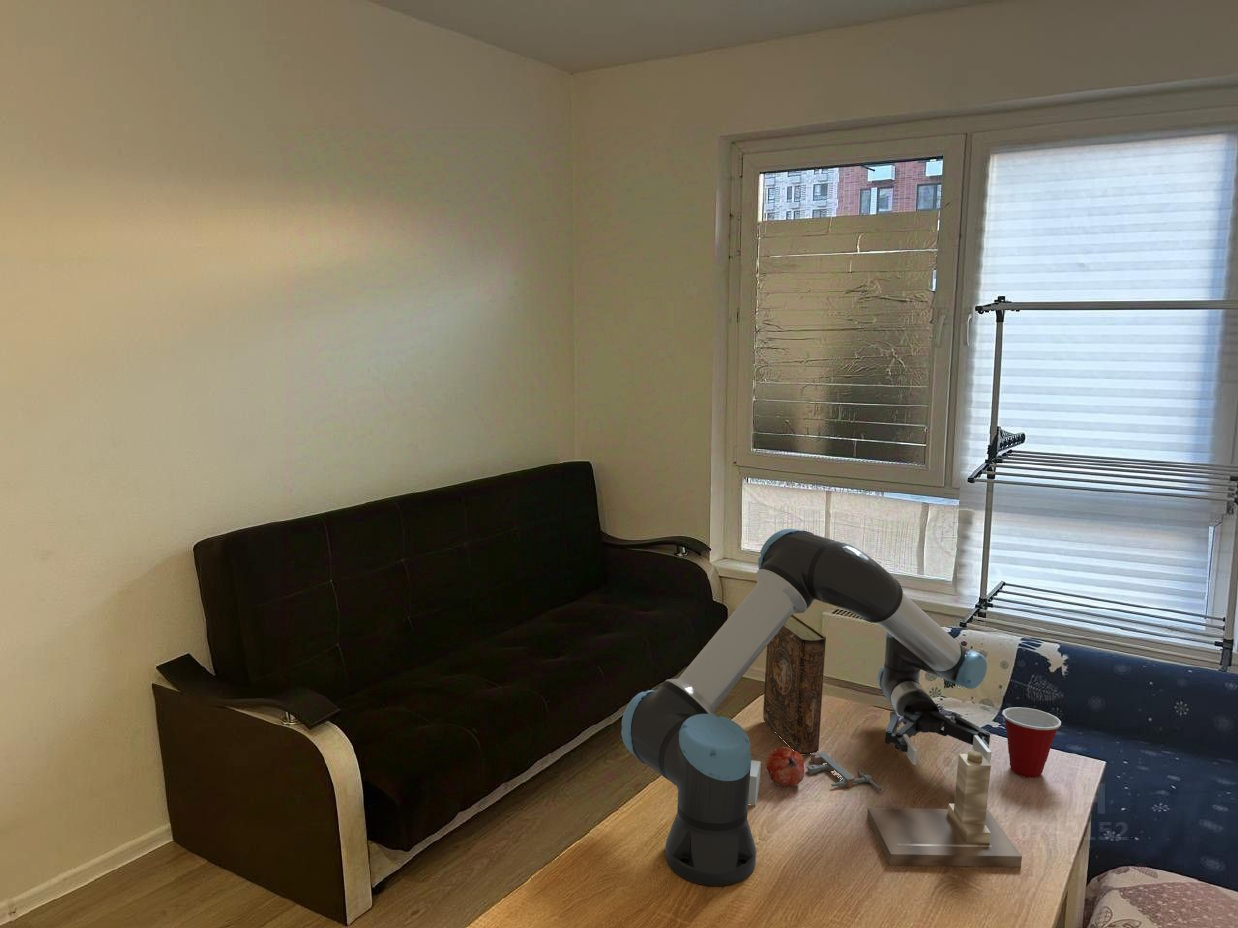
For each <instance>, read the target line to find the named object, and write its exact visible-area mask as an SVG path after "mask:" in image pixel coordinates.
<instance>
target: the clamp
mask: <svg viewBox="0 0 1238 928" xmlns="http://www.w3.org/2000/svg"><path fill="white" fill-rule="evenodd" d="M809 760H810V761H813V762H812V763H813V764H811V765H807V766H806V767H807V769H806V771H807V772H808V773H809V774H810V775H811V774H812V775H813V774H816V773H820V771H826V770H827V769H828V770H829V771H834V770H835V771H836V772H837V773H839V774H840V775H841V776H842V777H839V776H840V775H839V776H838V775H835V777H834V778H836V777H837V776H838V777H839V778H838V777H837V778H836V779H837V780H838V781H837V782H835V783H831V787H843V786H844V787H846V788H853V787H854V784H858V783H864V784H866V783H867V784H868V783H870V784H871V785H872V786H874V787H875V788H876V789H877V791H878V792H882V791H883V789H884V788H883V787H882V786H879V785H878V784H877V783H875V782H874V781H873V777H872V775H870V774H867V775H866V774H864V773H863V772H862V770H861V769H859V770H857V775H858V776H861V777H859V778H855V777H854V776H853V775H852V774H850V773H849V772H848V771H847V770H846V769H844V768H843V767H842V766H841V765H840V764H839V763H837V761H835V760H834V759H833V758H832V757H831V756H829V755H828V754H827V753H826V752H825V751H820V752H819V751H818V752H817V753H816V752H815V753H811V754H810V759H809ZM823 763H827V764H825V765H821V764H823ZM817 764H820V765H817ZM828 770H827V771H828ZM829 771H828V772H829ZM834 773H835V772H834ZM834 773H833V774H834ZM833 774H831V775H832V776H833ZM840 778H841V779H842V778H843V779H842V780H841V779H840ZM840 780H841V781H840Z"/></svg>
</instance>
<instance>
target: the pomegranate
mask: <svg viewBox="0 0 1238 928" xmlns="http://www.w3.org/2000/svg"><path fill="white" fill-rule="evenodd" d="M804 765H805V760H804V758H803V755H801V754H800V753H799V752H797V751H793V750H792V749H791V748H790V747H789V746H779V747H778V746H777V747H776V748H774V749H773V750H772V752H771V753H769V756H768V757H767V758H766V761H765V768H766V771H767V772H768V774H769V777H770V780H771V781H772V782H773V783H775V784H776V785H778V786H781V787H787V786H790V787H796V786H798V785H799V784H800V783H802V781H803V780H804V777H805V766H804Z"/></svg>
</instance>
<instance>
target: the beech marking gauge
mask: <svg viewBox="0 0 1238 928" xmlns="http://www.w3.org/2000/svg"><path fill="white" fill-rule="evenodd" d="M957 762H958V763H957V772H956V781H955V782H956V783H955V790H954V792H955V794H954V803H947V804H948V805H947V809H948V815H949V817H950V818H951V820H952V821H953V823H954V824H955V826H956V828H957V829H958V831H959V832H960V834H961V835H962V837H963V838H964V840H965V842H966V843H990V836H991V832H990V831H989V829H988V828H987V826H986V825H985V820H986V810H988V809H987V808H988V800H989V798H988V797H989V790H990V789H989V788H990V787H989V786H990V778H991V769H992V766H991V763H990V764H989V763H988V761H987V760H986V759H985V758H984V756H983V755H982V754H981V753H979V752H977V751H974V750H968V752H967V753H959V754H958V761H957Z"/></svg>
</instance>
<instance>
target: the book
mask: <svg viewBox="0 0 1238 928" xmlns="http://www.w3.org/2000/svg"><path fill="white" fill-rule="evenodd" d="M826 642H827V636H826V635H824V634H823V633H821V632H820V631H818V629H816V628H814V627H813V626H811V625H810V624H808V623H807V622H805V621H804V620H803V619H802V618H800V617H798V616H797V615H795V613H793V614H792V615H791V617H790V618H789V619H788V620H787V621H786V623H785V624H784V625H783V626H782V628H781V629H780V630H779V631H778V633H777V634H776V635H775V636H774V638H773V639H772V640H771V641H770V643H769V644H768V645H767V646H766V656H765V657H766V658H765V675H764V689H763V692H764V694H763V709H762V710H763V711H762V717H763V718H762V719H763V722H764V721H765V722H764V723H765V724H766V723H767V724H766V725H767V726H768V728H769V729H771V728H772V729H771V730H772V731H773V733H775V732H776V733H777V734H776V733H775V734H776V735H777V736H778V735H779V736H780V737H781V738H782V739H783V740H784V741H785V742H786V743H787V744H788V745H789V746H790V747H791V748H792V749H793V750H794V751H797V752H799V753H800V754H810V753H815V752H817V751H818V752H819V748H820V747H819V746H820V732H821V722H822V721H821V719H822V718H821V717H822V716H821V715H822V703H823V687H824V674H825V672H824V671H825V658H826V657H825V656H826ZM779 736H778V737H779ZM780 737H779V738H780ZM781 738H780V739H781ZM782 739H781V740H782ZM783 740H782V741H783ZM784 741H783V742H784ZM785 742H784V743H785ZM786 743H785V744H786ZM787 744H786V745H787ZM788 745H787V746H788ZM789 746H788V747H789ZM790 747H789V748H790ZM791 748H790V749H791ZM792 749H791V750H792ZM818 752H817V753H818ZM810 755H811V754H810Z"/></svg>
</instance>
